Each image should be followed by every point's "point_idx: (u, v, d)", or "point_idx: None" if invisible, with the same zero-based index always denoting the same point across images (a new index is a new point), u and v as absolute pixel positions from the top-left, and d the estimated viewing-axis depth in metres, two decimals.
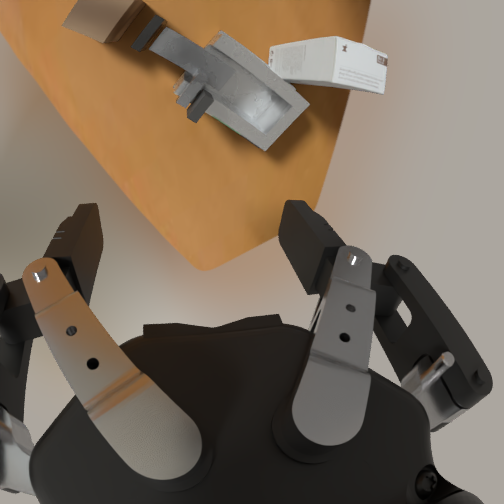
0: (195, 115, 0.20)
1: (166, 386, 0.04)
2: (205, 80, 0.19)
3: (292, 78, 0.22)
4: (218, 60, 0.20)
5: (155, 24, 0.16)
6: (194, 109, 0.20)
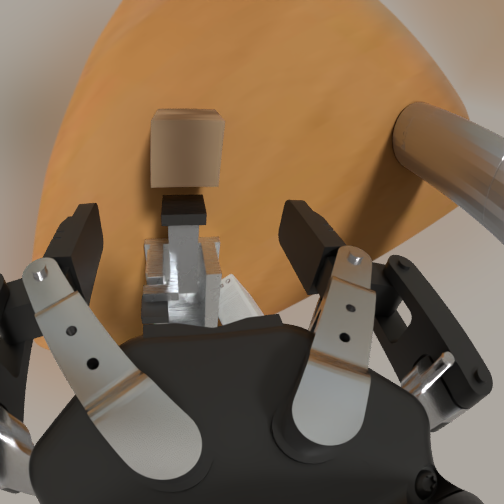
0: (147, 320, 0.22)
1: (166, 386, 0.04)
2: (176, 299, 0.24)
3: None
4: (195, 278, 0.26)
5: (196, 220, 0.22)
6: (151, 317, 0.22)
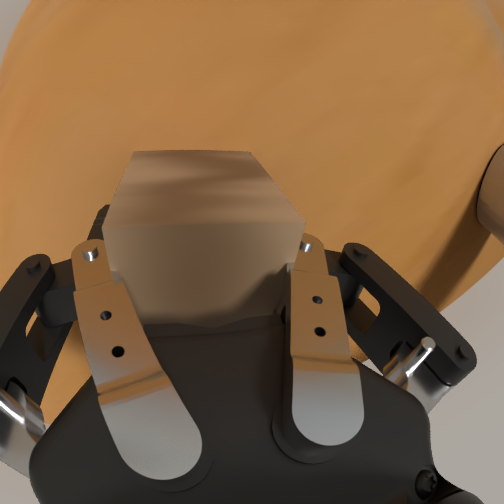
0: None
1: None
2: None
3: None
4: None
5: None
6: None
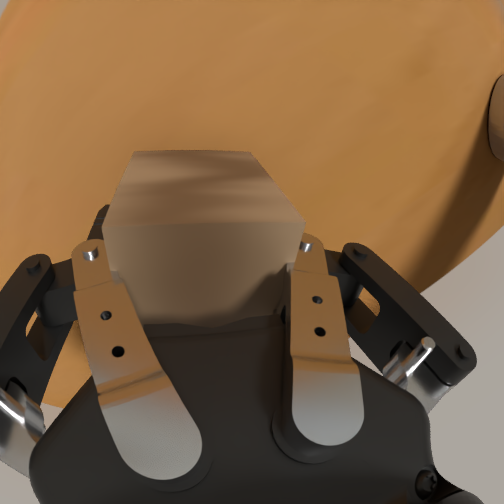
0: None
1: None
2: None
3: None
4: None
5: None
6: None
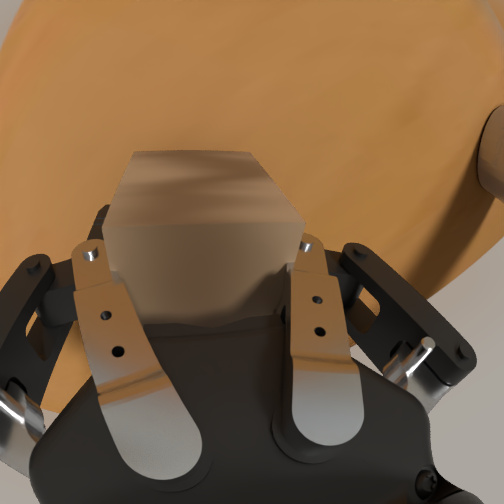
0: None
1: None
2: None
3: None
4: None
5: None
6: None
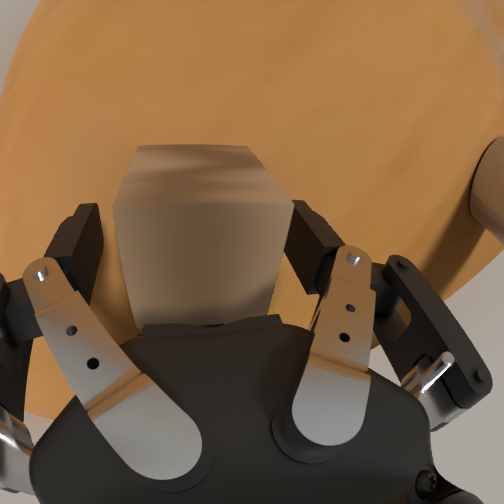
0: None
1: (166, 386, 0.04)
2: None
3: None
4: None
5: None
6: None
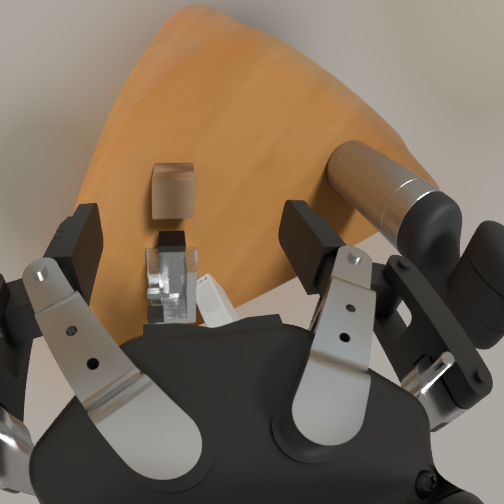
0: (151, 321, 0.37)
1: (166, 386, 0.04)
2: (167, 297, 0.37)
3: (199, 309, 0.43)
4: (180, 283, 0.40)
5: (179, 249, 0.35)
6: (153, 319, 0.37)
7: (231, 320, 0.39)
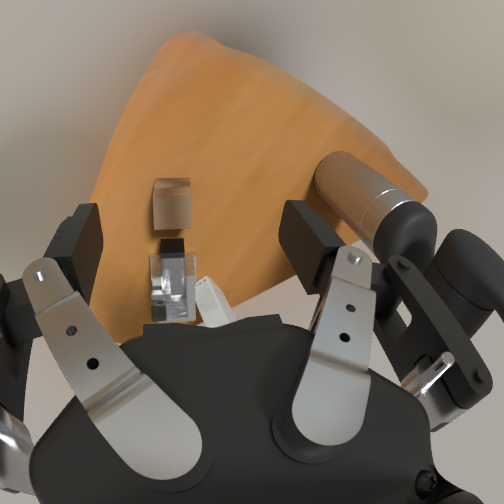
0: (155, 319, 0.42)
1: (166, 386, 0.04)
2: (169, 298, 0.42)
3: (198, 308, 0.47)
4: (181, 286, 0.44)
5: (179, 255, 0.40)
6: (157, 317, 0.41)
7: (226, 319, 0.43)
